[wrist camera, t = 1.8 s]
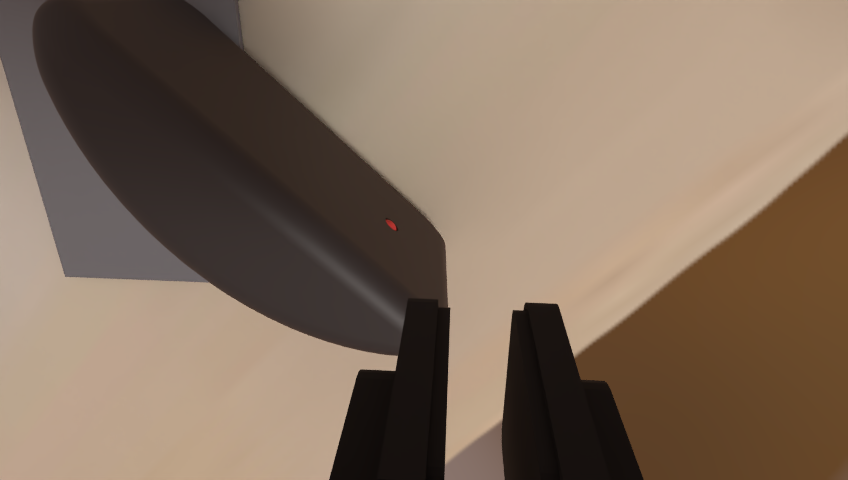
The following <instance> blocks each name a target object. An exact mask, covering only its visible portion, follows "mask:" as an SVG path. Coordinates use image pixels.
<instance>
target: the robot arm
mask: <svg viewBox="0 0 848 480" xmlns="http://www.w3.org/2000/svg"><path fill="white" fill-rule="evenodd" d="M449 328H450V308H446V307H439V299H423V298H408V301H407V307H406V313H405V319H404V325H403V330H402V336H401V342H400V348H399V354H398V360H397V366H396V371H382V370H360V371H359V372H358V375H357V378H356V382H355V385H354V389H353V393H352V397H351V400H350V404H349V408H348V412H347V415H346V419H345V423H344V427H343V430H342V434H341V438H340V441H339V445H338V449H337V453H336V456H335V460H334V464H333V468H332V471H331V475H330V479H329V480H444V471H445V444H446V415H447V386H448V357H449ZM502 453H503V464H504V476H505V480H643V477H642V474H641V471H640V469H639V466H638V463H637V461H636V458H635V455H634V452H633V450H632V447H631V444H630V441H629V439H628V436H627V434H626V431H625V428H624V425H623V423H622V420H621V417H620V414H619V412H618V409H617V406H616V403H615V401H614V398H613V395H612V392H611V390H610V388H609V386H608V384H607V383H606V382H605V381H594V380H581V379H580V376H579V373H578V369H577V366H576V363H575V359H574V356H573V353H572V349H571V346H570V343H569V339H568V336H567V333H566V329H565V326H564V323H563V319H562V316H561V313H560V309H559V307H558V304H547V303H525V305H524V311H519V310H513V313H512V322H511V333H510V344H509V355H508V367H507V378H506V389H505V400H504V411H503V422H502Z"/></svg>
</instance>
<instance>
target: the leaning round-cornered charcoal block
mask: <svg viewBox="0 0 848 480" xmlns="http://www.w3.org/2000/svg"><path fill="white" fill-rule="evenodd" d="M32 37H33V48H34V54H35V59H36V63H37V66H38V70H39V73H40V75H41V78H42V80H43V83H44V85H45V87H46V90H47V92H48V94H49V96H50V98H51V100H52V102H53V104H54V106H55V108H56V110H57V112H58V113H59V115H60V117H61V119H62V121H63V122H64V124H65V126H66V128H67V129H68V131H69V133H70V134H71V136H72V138H73V139H74V141H75V142H76V144H77V146H78V147H79V149H80V150H81V151H82V153H83V154H84V156H85V157H86V159H87V160H88V162H89V163H90V165H91V166H92V167H93V169H94V170H95V171H96V173H97V174H98V175H99V177H100V178H101V179H102V181H103V182H104V183H105V184H106V186H107V187H108V188H109V189H110V190H111V192H112V193H113V194H114V195H115V196H116V198H117V199H118V200H119V201H120V202H121V204H122V205H123V206H124V207H125V208H126V209H127V210H128V211H129V212H130V213H131V214H132V215H133V216H134V218H135V219H136V220H137V221H138V222H139V223H140V224H141V225H142V226H143V227H144V228H145V229H146V230H147V231H148V232H149V233H150V234H151V235H152V236H153V237H154V238H156V239H157V240H158V241H159V242H160V243H161V244H162V245H163V246H164V247H165V248H167V249H168V250H169V251H170V252H171V253H172V254H174V255H175V256H176V257H177V258H178V259H179V260H181V261H182V262H183V263H184V264H185V265H187V266H188V267H189V268H191V269H192V270H193V271H195V272H196V273H197V274H199V275H200V276H201V277H203V278H204V279H205V280H207V281H208V282H210V283H211V284H213V285H214V286H216V287H217V288H219V289H220V290H222V291H223V292H225V293H226V294H227V295H229V296H231V297H232V298H234V299H236V300H238V301H239V302H241V303H243V304H244V305H246V306H248V307H249V308H251V309H253V310H255V311H257V312H259V313H261V314H263V315H264V316H266V317H268V318H270V319H272V320H275V321H277V322H279V323H281V324H283V325H285V326H288V327H290V328H292V329H295V330H297V331H299V332H302V333H304V334H307V335H310V336H313V337H315V338H318V339H321V340H324V341H327V342H330V343H334V344H337V345H341V346H344V347H348V348H352V349H357V350H361V351H366V352H372V353H377V354H384V355H396V356H398V354H399V348H400V342H401V336H402V330H403V325H404V319H405V313H406V307H407V301H408V298H423V299H439V307H446V308H448V297H447V274H446V250H445V243H444V240H443V238H442V237H441V235H440V234H439V232H438V231H437V230H436V229H435V227H434V226H433V225H432V224H431V223H430V222H429V221H428V220H427V219H426V218H425V217H424V216H423V215H422V214H421V213H420V212H419V211H418V210H416V209H415V208H414V207H413V206H412V205H411V204H410V203H409V202H408V201H407V200H406V199H404V198H403V197H402V196H401V195H400V194H399V193H398V192H397V191H396V190H395V189H394V188H392V187H391V186H390V185H389V184H388V183H387V182H386V181H385V180H384V179H383V178H382V177H380V176H379V175H378V174H377V173H376V172H375V171H374V170H373V169H372V168H371V167H370V166H368V165H367V164H366V163H365V162H364V161H363V160H362V159H361V158H360V157H359V156H358V155H356V154H355V153H354V152H353V151H352V150H351V149H350V148H349V147H348V146H347V145H346V144H344V143H343V142H342V141H341V140H340V139H339V138H338V137H337V136H336V135H335V134H334V133H332V132H331V131H330V130H329V129H328V128H327V127H326V126H325V125H324V124H323V123H322V122H320V121H319V120H318V119H317V118H316V117H315V116H314V115H313V114H312V113H311V112H310V111H308V110H307V109H306V108H305V107H304V106H303V105H302V104H301V103H300V102H299V101H298V100H296V99H295V98H294V97H293V96H292V95H291V94H290V93H289V92H288V91H287V90H286V89H284V88H283V87H282V86H281V85H280V84H279V83H278V82H277V81H276V80H275V79H274V78H272V77H271V76H270V75H269V74H268V73H267V72H266V71H265V70H264V69H263V68H262V67H260V66H259V65H258V64H257V63H256V62H255V61H254V60H253V59H252V58H251V57H249V56H248V55H247V54H246V53H245V52H244V51H243V50H242V49H241V48H240V47H239V46H237V45H236V44H235V43H234V42H233V41H232V40H231V39H230V38H229V37H228V36H227V35H225V34H224V33H223V32H222V31H221V30H220V29H219V28H218V27H217V26H216V25H215V24H213V23H212V22H211V21H210V20H209V19H208V18H207V17H206V16H205V15H203V14H202V13H201V12H200V11H199V10H197V9H196V8H195V7H193V6H192V5H191V4H189V3H188V2H186V1H185V0H47V1H46V2H44V3H43V4H42V5H41V6H40V7H39V8H38V10H37V11H36V13H35V16H34V19H33V26H32Z"/></svg>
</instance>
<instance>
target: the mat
mask: <svg viewBox="0 0 848 480" xmlns="http://www.w3.org/2000/svg"><path fill="white" fill-rule="evenodd" d="M46 1H47V0H0V57H1V61H2V64H3V67H4V71H5V74H6V78H7V81H8V84H9V88H10V91H11V95H12V98H13V101H14V105H15V108H16V111H17V115H18V118H19V122H20V125H21V128H22V132H23V135H24V139H25V142H26V145H27V149H28V152H29V156H30V159H31V162H32V166H33V169H34V173H35V176H36V179H37V183H38V186H39V189H40V193H41V196H42V200H43V203H44V206H45V210H46V213H47V217H48V220H49V223H50V227H51V230H52V234H53V237H54V240H55V244H56V247H57V251H58V254H59V257H60V261H61V264H62V267H63V271H64V274H65V277H86V278H111V279H136V280H162V281H187V282H208V281H207V280H205V279H204V278H203V277H201V276H200V275H199V274H197V273H196V272H195V271H193V270H192V269H191V268H189V267H188V266H187V265H185V264H184V263H183V262H182V261H181V260H179V259H178V258H177V257H176V256H175V255H174V254H172V253H171V252H170V251H169V250H168V249H167V248H165V247H164V246H163V245H162V244H161V243H160V242H159V241H158V240H157V239H156V238H154V237H153V236H152V235H151V234H150V233H149V232H148V231H147V230H146V229H145V228H144V227H143V226H142V225H141V224H140V223H139V222H138V221H137V220H136V219H135V218H134V216H133V215H132V214H131V213H130V212H129V211H128V210H127V209H126V208H125V207H124V206H123V205H122V204H121V202H120V201H119V200H118V199H117V198H116V196H115V195H114V194H113V193H112V192H111V190H110V189H109V188H108V187H107V186H106V184H105V183H104V182H103V181H102V179H101V178H100V177H99V175H98V174H97V173H96V171H95V170H94V169H93V167H92V166H91V165H90V163H89V162H88V160H87V159H86V157H85V156H84V154H83V153H82V151H81V150H80V149H79V147H78V146H77V144H76V142H75V141H74V139H73V138H72V136H71V134H70V133H69V131H68V129H67V128H66V126H65V124H64V122H63V121H62V119H61V117H60V115H59V113H58V112H57V110H56V108H55V106H54V104H53V102H52V100H51V98H50V96H49V94H48V92H47V90H46V87H45V85H44V83H43V80H42V78H41V75H40V73H39V70H38V66H37V63H36V59H35V54H34V48H33V37H32V26H33V19H34V16H35V13H36V11H37V10H38V8H39V7H40V6H41V5H42V4H43V3H44V2H46ZM185 1H186V2H188V3H189V4H191V5H192V6H193V7H195V8H196V9H197V10H199V11H200V12H201V13H202V14H203V15H205V16H206V17H207V18H208V19H209V20H210V21H211V22H212V23H213V24H215V25H216V26H217V27H218V28H219V29H220V30H221V31H222V32H223V33H224V34H225V35H227V36H228V37H229V38H230V39H231V40H232V41H233V42H234V43H235V44H236V45H237V46H239V47H240V48H241V49H242V50H243V51H244V48H243V40H242V32H241V23H240V15H239V7H238V0H185Z"/></svg>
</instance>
